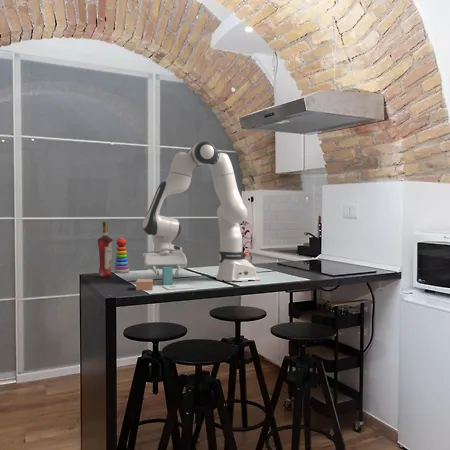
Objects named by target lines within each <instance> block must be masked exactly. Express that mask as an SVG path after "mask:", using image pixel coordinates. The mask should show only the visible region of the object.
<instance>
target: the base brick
mask: <svg viewBox="0 0 450 450" xmlns="http://www.w3.org/2000/svg"><path fill="white" fill-rule="evenodd" d="M135 281H136V282H135V291H153V288H154V284H153V283H154V282H153V281H154V279H153V278H137V279H136V280H135Z"/></svg>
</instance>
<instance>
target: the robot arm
mask: <svg viewBox="0 0 450 450" xmlns="http://www.w3.org/2000/svg"><path fill="white" fill-rule="evenodd" d="M202 166H207V167H208V168H209V170H210V171H211V173H210V174H211V178H212V181H213V186H214V191H215V194H216V196H217V197H218V200H219V202H220V204H219V206H218V208H217V210H216V216H217V220H218V228H219V229H218V230H219V252H218V261H219V263H218V264H219V265H218V270H217V275H216V277H215V278H216V280H218V281H223V280H224V282H232V281H242V282H249V281H248V280H255V281H261V280H262V277H260V276H259V275H258V274H257V269H256V267H255V265H253V264H252V263H251V262H250V261H248V260H247V259H246V258H248V257H249V256H250V254H249V253H248V252H244V251H243V235H242V231H241V227H240V224H242V223H243V222H245V220H246V219H247V217H248V209H247V207H246V206H245V204H244V201H243V198H242V195H241V194H240V191H239V189H238V184H237V180H236V175H235V172H234V167H233V164H232V161H231V158H230V156H229V155H228V154H227V153H224V152H220V151H219V150H218V149H217V148H216V146H215V145H214V144H213V143H212V142H209V141H200V142H198V143H195V144H194V145H193V146H192V147H190V149H189V150H188V151H187V152H185V151H180V152H177V153H176V154H175V155H174V157H173V159H172V162H171V165H170V169H169V172H168V176H167V178H166V179H165V180H164V181H162V182H161V183H159V185H158V187H157V189H156V191H155V193H154V196H153V197H152V201H151V204H150V206H149V208H148V211H147V213H146V215H145V217H144V218H143V222H142V229H143V231H144V232H145V233H146V234H147V235H150V236H151V238H152V243H153V251H145V252H143V253H142V259H143V260H144V261H143V267H144V269H145V270H151V271H152V272H153V273H154V274H155V277H156V276H157V277H159V276H160V270H161V269H162V267H172V268H173V269H176V270H175V272H174V273H175V276H180V269H186V267H187V264H188V260H187V257H186V256H187V255H186V254H185V253H184V251H183V247H182V246H179V245H176V244H173V243H172V242H173V241H175V240H176V239H177V238H178V237H179V236H180V234H181V233H182V226H181V222H180V221H179V220H178V219H177V218H173V217H170V216H168V217H167V216H164V215H159V212H160V211H161V208H162V205H163V203H164V200H165V199H166V197H168V196H171V195H175V194H177V195H178V194H181V193H183V192H186V191H187V190H188V189H189V187H190V186H191V182H192V177H193V172H194V169H195V168H196V167H202ZM158 269H159V270H158Z"/></svg>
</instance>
